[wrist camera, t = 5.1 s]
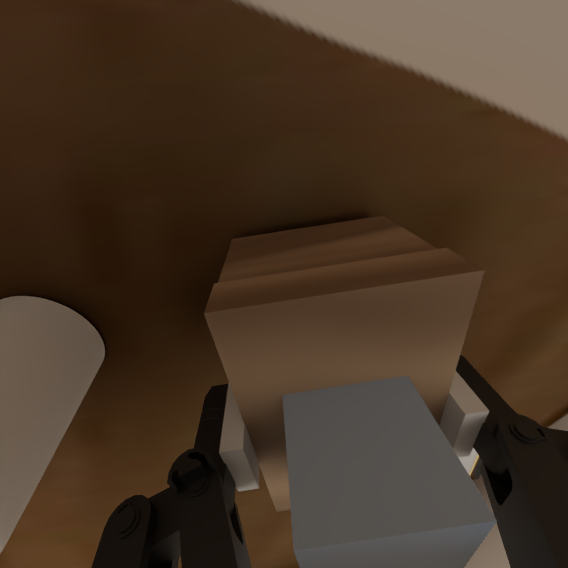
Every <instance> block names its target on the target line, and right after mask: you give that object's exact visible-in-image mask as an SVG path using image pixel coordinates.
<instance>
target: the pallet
mask: <svg viewBox="0 0 568 568" xmlns="http://www.w3.org/2000/svg"><path fill="white" fill-rule="evenodd" d="M484 272H485V270H484V269H482V268H480V267H479V266H477V265H475V264H474V263H472V262H470V261H469V260H467V259H465V258H463V257H462V256H460V255H458V254H457V253H455V252H453V251H452V250H450V249H448V248H441V249H437V248H435V247H434V246H432V245H431V244H429V243H427V242H426V241H424V240H423V239H421V238H419V237H418V236H416V235H415V234H413V233H411V232H410V231H408V230H407V229H405V228H403V227H402V226H400V225H399V224H397V223H395V222H394V221H392V220H391V219H389V218H387V217H386V216H384V215H383V216H376V217H370V218H364V219H357V220H351V221H344V222H338V223H331V224H325V225H319V226H312V227H306V228H299V229H293V230H286V231H280V232H274V233H267V234H261V235H254V236H248V237H241V238H235V239H232V241H231V244H230V247H229V250H228V253H227V256H226V259H225V262H224V266H223V269H222V272H221V275H220V278H219V281H218V283H214V285H213V288H212V291H211V294H210V297H209V300H208V302H207V305H206V308H205V311H204V315H205V318H206V321H207V324H208V326H209V329H210V332H211V334H212V337H213V340H214V343H215V345H216V348H217V351H218V354H219V356H220V359H221V362H222V364H223V367H224V370H225V373H226V375H227V378H228V381H229V383H230V386H231V389H232V392H233V394H234V397H235V400H236V403H237V405H238V408H239V411H240V413H241V416H242V419H243V422H244V423H245V426H246V429H247V431H248V434H249V437H250V440H251V442H252V445H253V448H254V451H255V453H256V456H257V459H258V462H259V465H260V468H261V471H262V473H263V476H264V479H265V482H266V484H267V487H268V490H269V492H270V495H271V498H272V501H273V503H274V506H275V509H276V512H278V511H285V510H291V506H290V492H289V478H288V465H287V451H286V437H285V424H284V410H283V396H282V395H286V394H292V393H299V392H305V391H312V390H318V389H325V388H331V387H338V386H344V385H351V384H357V383H364V382H370V381H376V380H383V379H389V378H396V377H402V376H409V378H410V380H411V381H412V383H413V385H414V386H415V388H416V389H417V391H418V393H419V394H420V396H421V398H422V399H423V401H424V402H425V404H426V406H427V407H428V409H429V411H430V412H431V414H432V416H433V417H434V419H435V420H436V422H437V424H438V425H440V422H441V418H442V415H443V412H444V408H445V405H446V401H447V398H448V395H449V391H450V388H451V384H452V381H453V377H454V374H455V371H456V367H457V364H458V360H459V357H460V354H461V350H462V347H463V343H464V340H465V337H466V333H467V330H468V326H469V323H470V320H471V316H472V313H473V309H474V306H475V302H476V299H477V296H478V292H479V289H480V285H481V282H482V279H483V275H484Z"/></svg>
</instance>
